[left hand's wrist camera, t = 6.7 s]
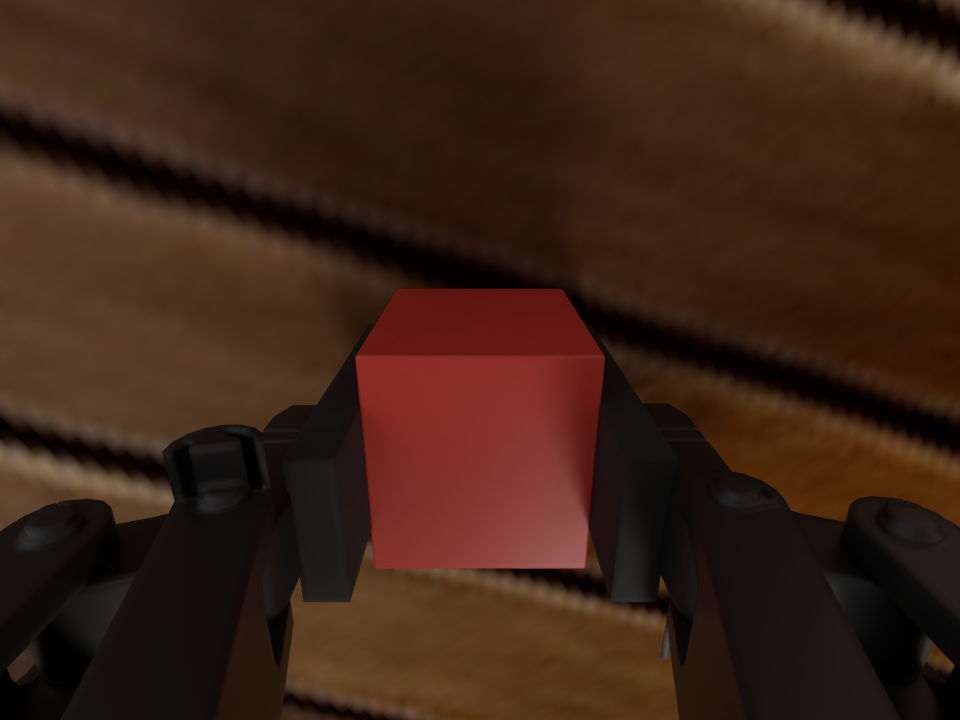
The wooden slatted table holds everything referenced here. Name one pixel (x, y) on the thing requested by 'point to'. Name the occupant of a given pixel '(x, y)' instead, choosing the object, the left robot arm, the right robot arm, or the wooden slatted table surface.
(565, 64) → the wooden slatted table surface
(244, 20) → the wooden slatted table surface
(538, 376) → the block
